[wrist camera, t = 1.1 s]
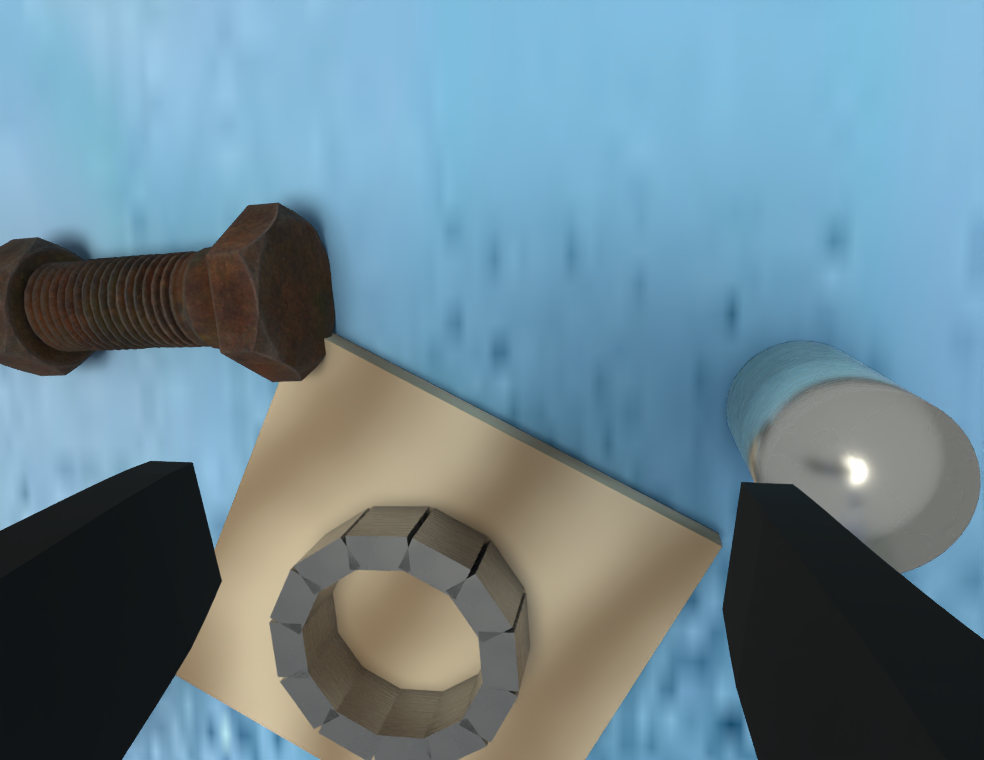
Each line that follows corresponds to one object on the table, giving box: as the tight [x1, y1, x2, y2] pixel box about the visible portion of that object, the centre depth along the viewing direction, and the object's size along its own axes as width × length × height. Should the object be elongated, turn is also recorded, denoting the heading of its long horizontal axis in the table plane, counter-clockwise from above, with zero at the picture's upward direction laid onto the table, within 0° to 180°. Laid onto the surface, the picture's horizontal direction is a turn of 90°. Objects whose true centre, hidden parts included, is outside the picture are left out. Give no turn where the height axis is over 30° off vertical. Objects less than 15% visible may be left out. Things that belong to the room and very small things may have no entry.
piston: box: [726, 341, 980, 573], centre depth 19 cm, size 4×4×7 cm
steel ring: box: [269, 506, 530, 760], centre depth 24 cm, size 9×9×2 cm
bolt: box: [0, 203, 335, 382], centre depth 24 cm, size 6×5×15 cm
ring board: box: [176, 333, 722, 760], centre depth 26 cm, size 16×16×1 cm
